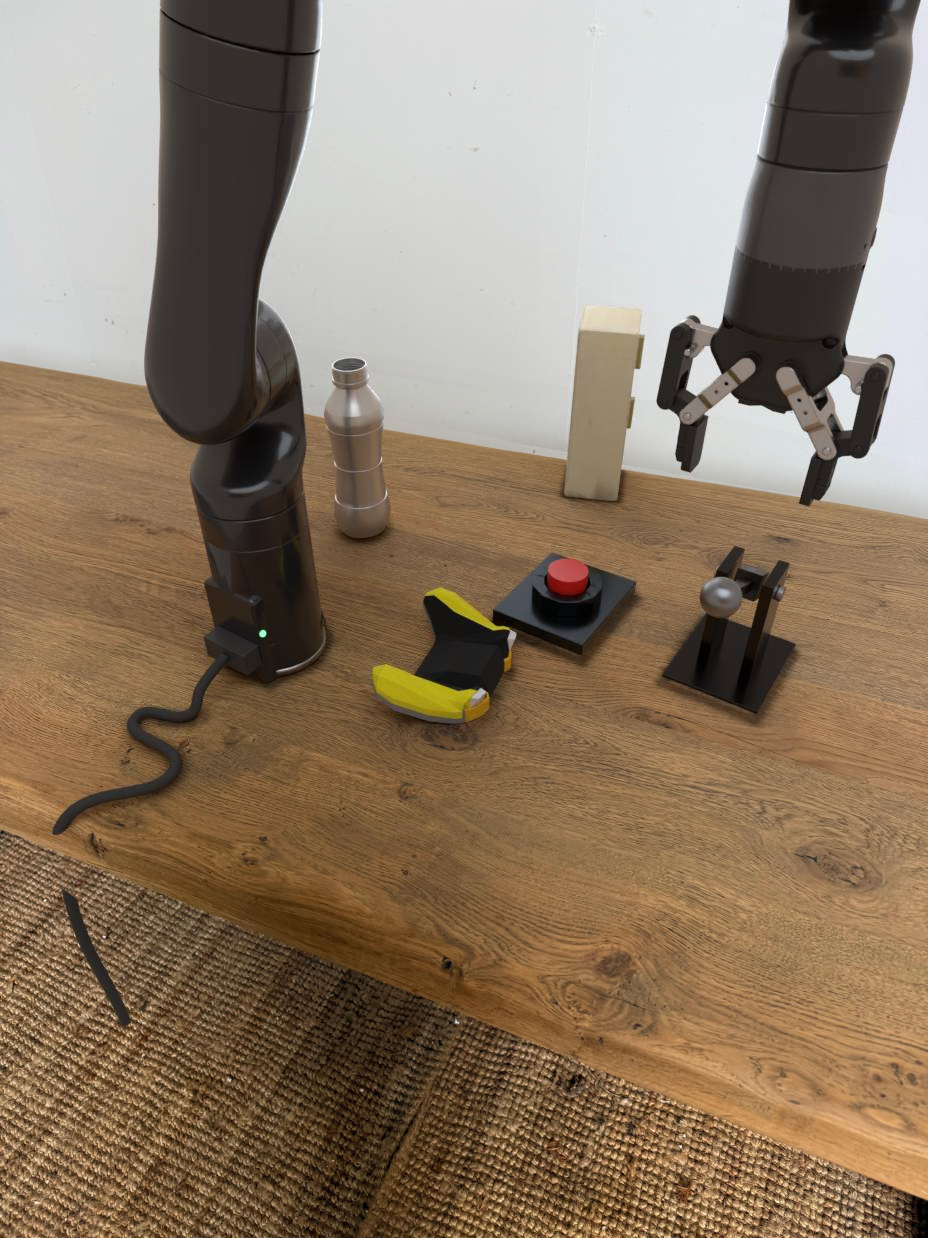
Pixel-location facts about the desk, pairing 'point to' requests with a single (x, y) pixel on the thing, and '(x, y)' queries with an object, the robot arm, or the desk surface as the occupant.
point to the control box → (564, 607)
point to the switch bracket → (736, 647)
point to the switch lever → (731, 591)
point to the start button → (567, 576)
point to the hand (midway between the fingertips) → (747, 483)
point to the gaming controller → (450, 665)
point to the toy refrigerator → (602, 400)
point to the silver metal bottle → (357, 450)
